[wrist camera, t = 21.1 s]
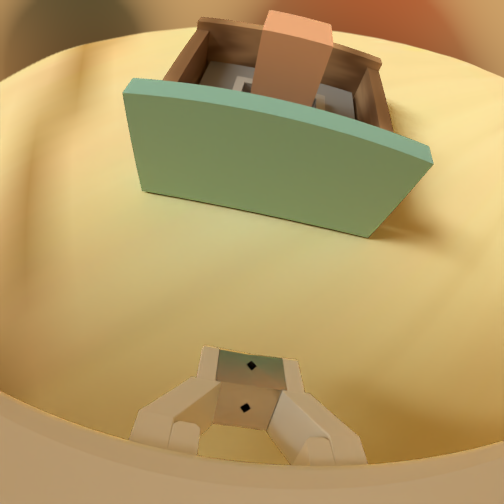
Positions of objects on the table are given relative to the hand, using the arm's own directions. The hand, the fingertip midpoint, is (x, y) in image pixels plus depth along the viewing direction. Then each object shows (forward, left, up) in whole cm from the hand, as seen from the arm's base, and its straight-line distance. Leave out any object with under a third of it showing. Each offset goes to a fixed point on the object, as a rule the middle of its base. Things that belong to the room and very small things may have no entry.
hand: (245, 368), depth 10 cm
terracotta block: (0, +20, -8) cm, 22 cm away
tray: (0, +20, -9) cm, 22 cm away
